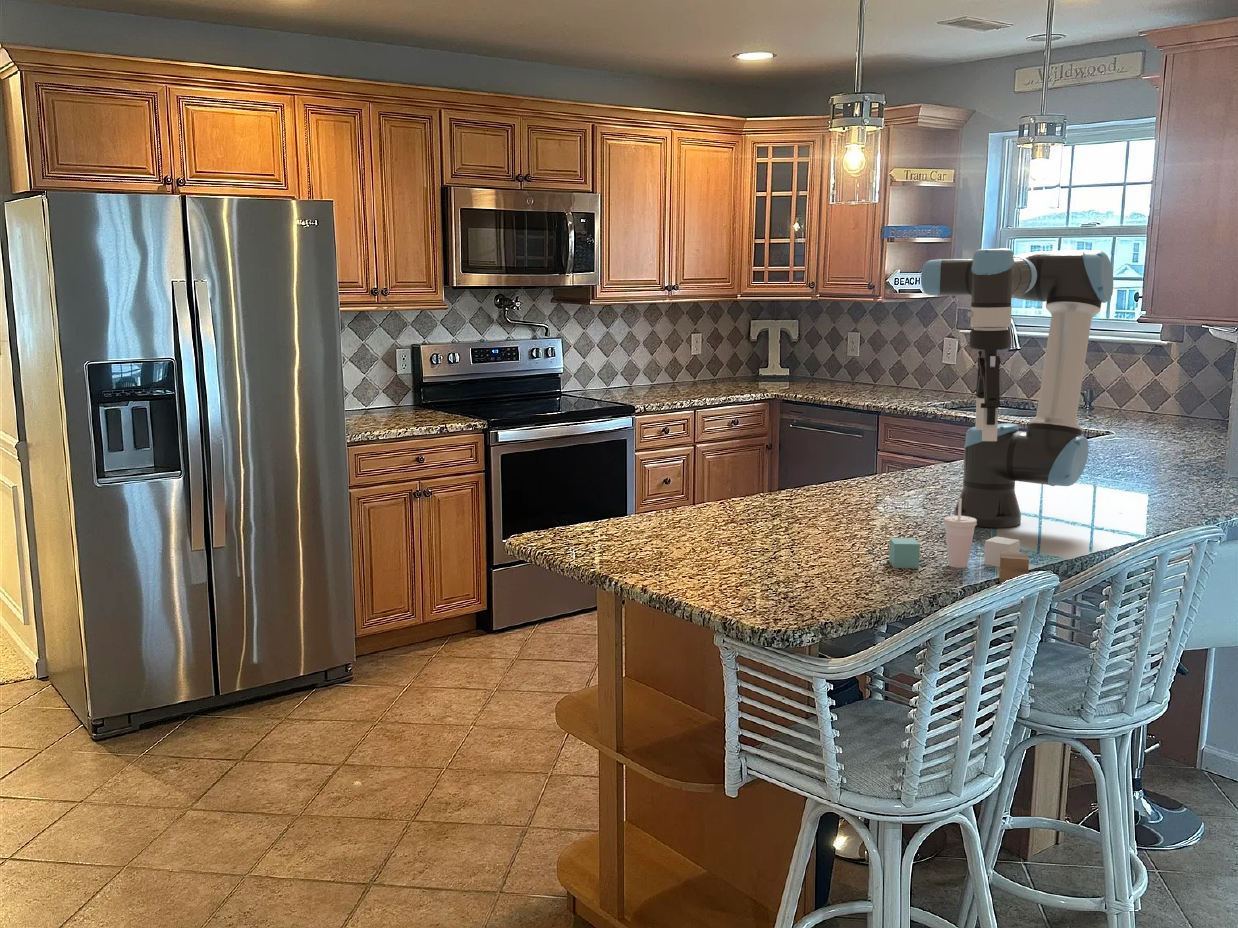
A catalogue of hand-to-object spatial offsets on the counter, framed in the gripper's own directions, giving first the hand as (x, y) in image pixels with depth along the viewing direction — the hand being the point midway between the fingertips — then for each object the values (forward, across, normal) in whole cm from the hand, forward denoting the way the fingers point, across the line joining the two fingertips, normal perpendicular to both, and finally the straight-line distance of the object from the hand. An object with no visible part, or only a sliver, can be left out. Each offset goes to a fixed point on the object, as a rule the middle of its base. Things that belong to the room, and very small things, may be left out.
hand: (985, 435), depth 215 cm
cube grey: (+26, +2, +4) cm, 27 cm away
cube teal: (+26, +6, -16) cm, 31 cm away
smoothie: (+26, +5, -5) cm, 27 cm away
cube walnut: (+26, +14, +5) cm, 30 cm away
